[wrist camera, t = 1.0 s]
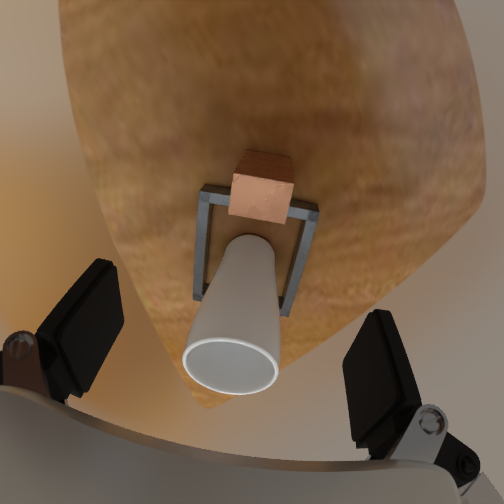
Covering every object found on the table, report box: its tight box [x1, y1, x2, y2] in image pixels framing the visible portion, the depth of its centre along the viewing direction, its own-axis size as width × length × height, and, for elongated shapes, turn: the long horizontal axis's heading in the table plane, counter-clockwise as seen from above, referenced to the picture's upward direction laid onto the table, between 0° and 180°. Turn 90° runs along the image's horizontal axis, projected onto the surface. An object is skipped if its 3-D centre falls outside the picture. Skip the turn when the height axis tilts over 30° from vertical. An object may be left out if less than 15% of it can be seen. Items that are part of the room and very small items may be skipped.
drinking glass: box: [182, 235, 281, 395], centre depth 25 cm, size 7×7×15 cm
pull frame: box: [193, 150, 320, 317], centre depth 27 cm, size 17×11×8 cm, turn 171°
